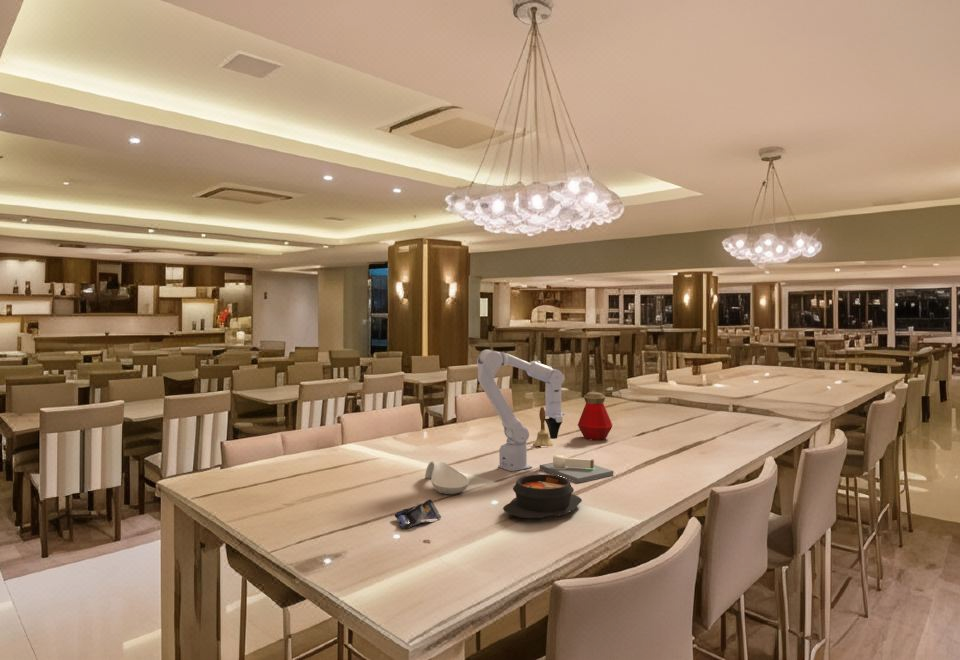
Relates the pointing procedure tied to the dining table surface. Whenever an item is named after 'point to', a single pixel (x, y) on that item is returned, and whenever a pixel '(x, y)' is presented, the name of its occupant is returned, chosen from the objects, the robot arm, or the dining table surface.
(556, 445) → the dining table surface
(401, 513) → the snack package
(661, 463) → the dining table surface
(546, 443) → the hand bell
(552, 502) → the casserole
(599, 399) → the bottle
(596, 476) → the dial board
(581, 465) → the brown-capped cream post
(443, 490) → the spoon rest
